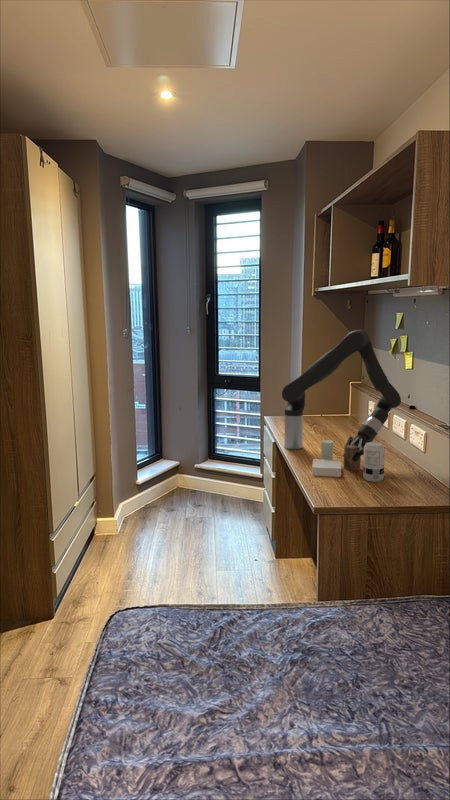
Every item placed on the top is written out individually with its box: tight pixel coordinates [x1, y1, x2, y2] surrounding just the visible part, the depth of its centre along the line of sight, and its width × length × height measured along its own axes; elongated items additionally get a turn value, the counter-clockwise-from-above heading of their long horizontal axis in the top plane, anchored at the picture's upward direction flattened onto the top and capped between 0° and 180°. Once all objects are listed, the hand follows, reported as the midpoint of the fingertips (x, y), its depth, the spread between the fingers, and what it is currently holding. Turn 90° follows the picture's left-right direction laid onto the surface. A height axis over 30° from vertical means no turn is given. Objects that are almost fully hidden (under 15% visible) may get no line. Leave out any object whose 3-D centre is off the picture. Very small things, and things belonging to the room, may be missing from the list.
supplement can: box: [362, 441, 386, 483], centre depth 207 cm, size 8×8×15 cm
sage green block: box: [320, 439, 334, 460], centre depth 231 cm, size 5×5×10 cm
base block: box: [311, 458, 342, 478], centre depth 219 cm, size 12×12×4 cm
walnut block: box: [343, 445, 362, 472], centre depth 222 cm, size 5×5×10 cm
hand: (349, 458), depth 221 cm, fingers closed on walnut block, 5 cm apart
